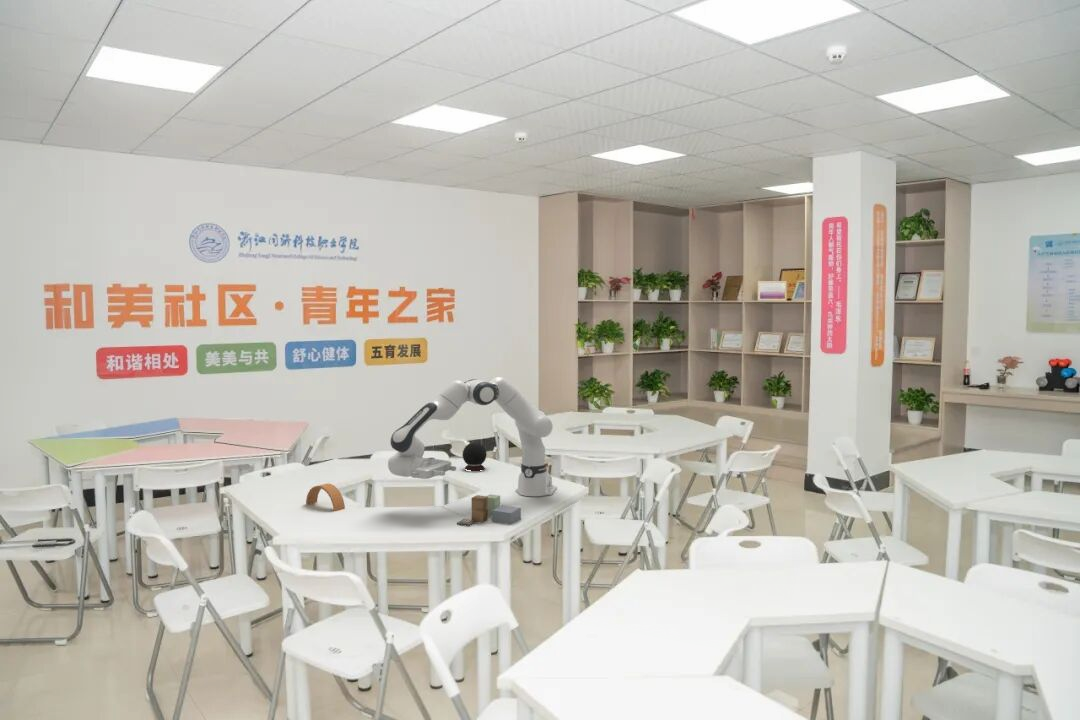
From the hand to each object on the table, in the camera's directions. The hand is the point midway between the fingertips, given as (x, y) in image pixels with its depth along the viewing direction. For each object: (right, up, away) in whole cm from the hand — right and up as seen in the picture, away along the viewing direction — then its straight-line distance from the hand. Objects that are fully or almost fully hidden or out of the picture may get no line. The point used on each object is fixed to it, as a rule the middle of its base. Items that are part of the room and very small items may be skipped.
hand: (450, 471), depth 312 cm
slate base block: (+24, -20, -3) cm, 32 cm away
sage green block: (+18, -19, +5) cm, 27 cm away
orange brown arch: (-58, -19, +17) cm, 64 cm away
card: (+8, -20, -8) cm, 23 cm away
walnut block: (+13, -20, -4) cm, 24 cm away
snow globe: (+2, -13, +91) cm, 92 cm away
